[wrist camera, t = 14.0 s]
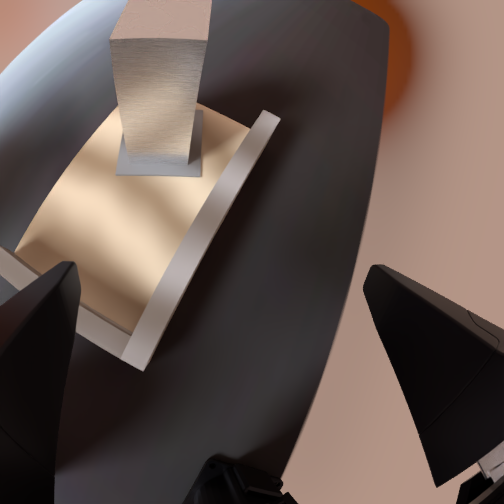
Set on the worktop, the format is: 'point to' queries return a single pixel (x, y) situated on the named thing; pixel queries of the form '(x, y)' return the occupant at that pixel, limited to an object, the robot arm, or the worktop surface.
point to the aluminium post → (159, 76)
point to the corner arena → (137, 227)
